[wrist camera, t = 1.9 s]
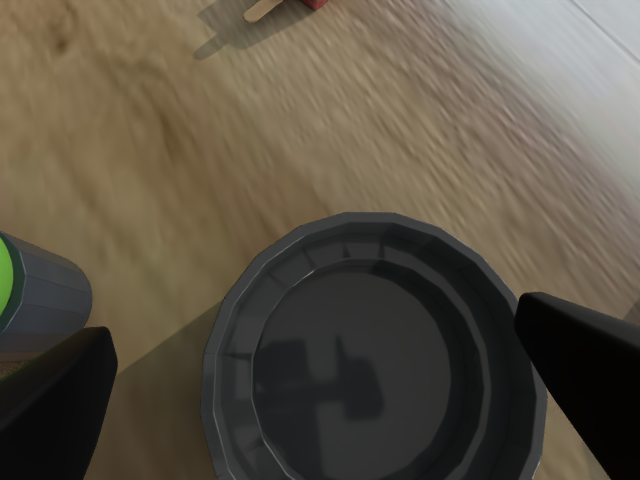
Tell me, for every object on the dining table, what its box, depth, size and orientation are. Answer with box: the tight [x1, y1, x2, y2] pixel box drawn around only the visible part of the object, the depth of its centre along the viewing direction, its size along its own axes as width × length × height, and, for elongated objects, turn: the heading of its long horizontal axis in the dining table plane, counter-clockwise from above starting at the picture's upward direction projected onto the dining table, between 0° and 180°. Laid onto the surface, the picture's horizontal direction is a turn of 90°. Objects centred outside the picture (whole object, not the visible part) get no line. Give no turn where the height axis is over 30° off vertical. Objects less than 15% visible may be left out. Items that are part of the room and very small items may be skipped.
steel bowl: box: [200, 212, 548, 480], centre depth 20 cm, size 16×16×4 cm
